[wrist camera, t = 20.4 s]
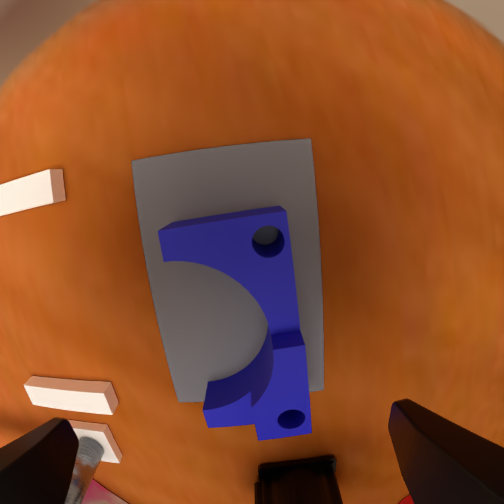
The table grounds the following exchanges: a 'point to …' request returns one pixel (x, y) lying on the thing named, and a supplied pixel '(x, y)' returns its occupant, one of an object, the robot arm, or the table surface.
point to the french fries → (407, 500)
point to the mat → (214, 281)
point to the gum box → (100, 495)
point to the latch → (84, 469)
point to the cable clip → (276, 312)
